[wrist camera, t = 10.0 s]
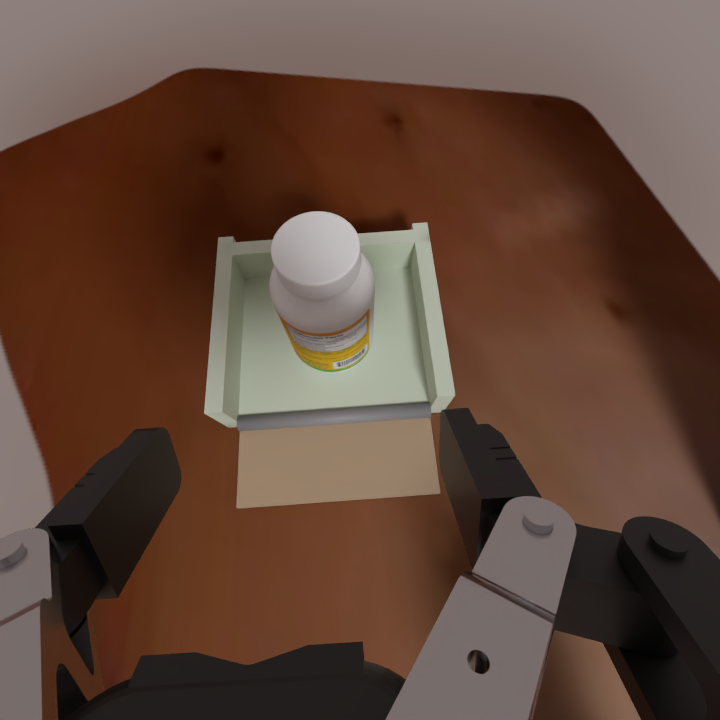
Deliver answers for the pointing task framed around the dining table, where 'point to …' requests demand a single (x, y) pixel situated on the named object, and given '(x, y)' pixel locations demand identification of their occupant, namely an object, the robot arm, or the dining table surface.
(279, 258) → the supplement bottle
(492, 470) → the robot arm
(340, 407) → the tray
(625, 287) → the dining table surface
